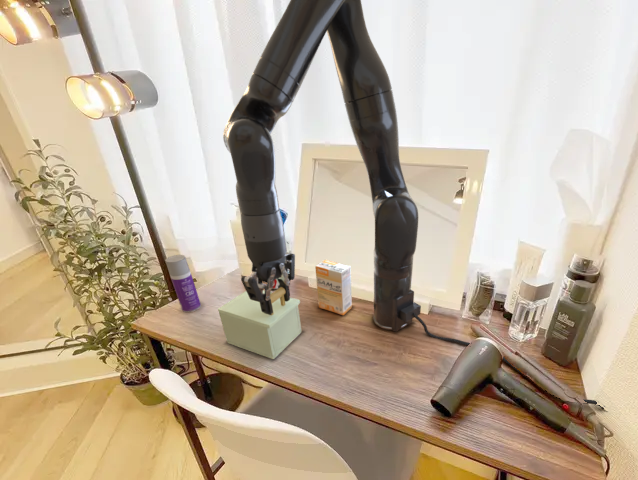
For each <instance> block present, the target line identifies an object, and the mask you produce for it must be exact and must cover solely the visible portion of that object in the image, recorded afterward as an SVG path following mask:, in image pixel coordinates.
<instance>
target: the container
mask: <svg viewBox="0 0 638 480" xmlns="http://www.w3.org/2000/svg"><path fill="white" fill-rule="evenodd" d="M164 262H165V264H166V267H167V270H168V274H169V277H170V279H171V282H172V285H173V288H174V291H175V293H176V298H177V299H178V303H179V305H180V308H181V311H182V312H183V313H193V312H196V311H198V310H200V309H201V307H202V304H201V301H200V298H199V295H198V290H197V288H196V285H195V282H194V278H193V275H192V272H191V269H190V266H189V263H188V260H187V258H186V256H185V255H184V254H174V255H171V256H168V257H166V258H165V261H164Z"/></svg>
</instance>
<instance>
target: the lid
mask: <svg viewBox="0 0 638 480" xmlns="http://www.w3.org/2000/svg"><path fill="white" fill-rule="evenodd" d="M285 293H286V291H285V289H284V288H283V287H280V288H278V289H275V290H273V292H272V291H271V292H270V299H271V303H272V308H273V313H272V314H271V315H269V314H265V313H264V312H262V311H261V306H260V302H257V301H254V300H251V299H250V298H249V296H248V294H247V292H246V290H245V291H243V292H241V293H240V294H239V295H237V296H235V297H234V298H232V299H231V300H229V301H228V302H226V303H225V304H223V305H222V306H219V308H217V311H218V313H219V312H220V313H224V314H227V315H230V316H233V317H236V318H239V319H242V320H246V321H249V322H252V323H255V324H258V325H261V326H264V327H268V328H271V327H272V326H273V325H274V324H276V323H277V322H278V321H279V320H280V319H282V318H283V317H284V316H285V315H286V314H288V313H289V312H290V311H291V310H292V309H294V308H295V307H296V306H297V305H298V306H299V305H300V304H301V300H300V299H298V298H294V297H290V300H289V301H287V302H286V301H285V299H284V294H285ZM263 294H265V289H263Z"/></svg>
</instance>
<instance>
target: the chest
mask: <svg viewBox="0 0 638 480" xmlns="http://www.w3.org/2000/svg"><path fill="white" fill-rule="evenodd" d="M218 314H219V319H220V321H221V325H222V329H223V332H224V335H225V339H226V343H227V344H229V345H231V346H234V347H237V348H240V349H242V350H245V351H249V352H251V353H253V354H257V355H260V356H262V357H266V358H268V359H271V360H275V358H277V357H278V356H279V355H280V354H281V353H282V352H283V351H284V350H285V349H286V348H287V347H288V346H289V345H290V344H291V343H293V341H294V340H295V339H296V338H297V337H299V336H300V334H302V332H303V331H302V323H301V317H300V316H301V315H300V310H299V304H298V305H297V306H296V307H295V308H294V309H292V310H291V311H290V312H289V313H288V314H286V315H285V316H284V317H283V318H282V319H280V320H279V321H278V322H277V323H276V324H274V325H273V326H272V327H271V328H268V327H264V326H261V325H258V324H255V323H252V322H249V321H246V320H242V319H239V318H236V317H233V316H230V315H227V314H224V313H220V312H218Z"/></svg>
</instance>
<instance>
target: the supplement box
mask: <svg viewBox="0 0 638 480" xmlns="http://www.w3.org/2000/svg"><path fill="white" fill-rule="evenodd" d="M314 267H315V279H316V280H315V281H316V288H317V302H318V308H319V309H323V310H325V311H329V312H332V313H335V314H338V315H341V316H344V315H345V314H347V313H348V312H349V311H350V310H351V309H352V307H353V301H352V298H353V295H352V266H351V265H349V264H348V265H347V264H343V263H339V262H337V261H336V262H335V261H332V260H328V259H324V260H322V261H320V262H319V263H317V264H316V265H315V266H314Z"/></svg>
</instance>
